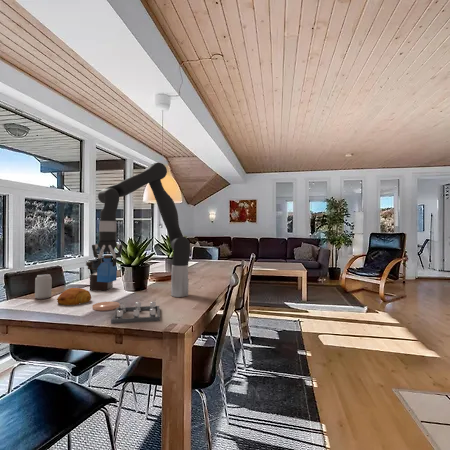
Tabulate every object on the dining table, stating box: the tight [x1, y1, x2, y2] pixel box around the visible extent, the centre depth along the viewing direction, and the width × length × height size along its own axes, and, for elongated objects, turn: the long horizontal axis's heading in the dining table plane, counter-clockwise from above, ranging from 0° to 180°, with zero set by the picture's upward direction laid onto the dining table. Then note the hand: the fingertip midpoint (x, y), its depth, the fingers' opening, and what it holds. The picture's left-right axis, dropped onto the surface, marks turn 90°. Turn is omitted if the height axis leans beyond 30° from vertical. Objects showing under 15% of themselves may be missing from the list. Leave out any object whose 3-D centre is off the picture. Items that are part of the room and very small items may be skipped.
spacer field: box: [110, 301, 161, 324], centre depth 130 cm, size 19×18×4 cm
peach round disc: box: [92, 301, 120, 312], centre depth 143 cm, size 12×12×1 cm
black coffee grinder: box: [85, 260, 114, 292], centre depth 180 cm, size 16×11×18 cm
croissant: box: [56, 287, 92, 306], centre depth 151 cm, size 14×16×8 cm
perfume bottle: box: [96, 254, 118, 282], centre depth 143 cm, size 6×6×12 cm
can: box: [34, 273, 53, 300], centre depth 159 cm, size 8×8×12 cm
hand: (107, 266), depth 143 cm, fingers closed on perfume bottle, 5 cm apart
